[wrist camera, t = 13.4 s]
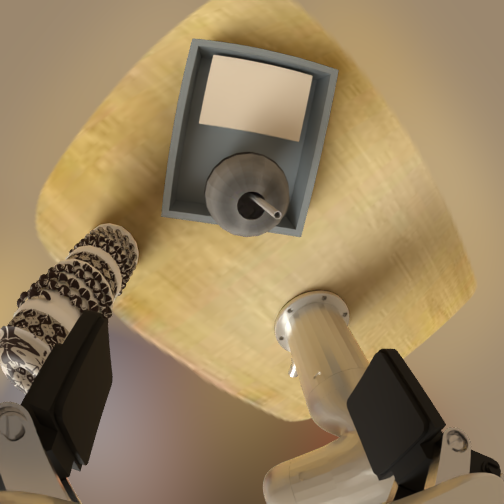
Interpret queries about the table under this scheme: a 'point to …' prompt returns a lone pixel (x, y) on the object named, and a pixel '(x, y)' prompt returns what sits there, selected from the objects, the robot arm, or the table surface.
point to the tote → (243, 137)
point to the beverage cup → (247, 194)
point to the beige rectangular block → (255, 98)
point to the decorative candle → (66, 300)
